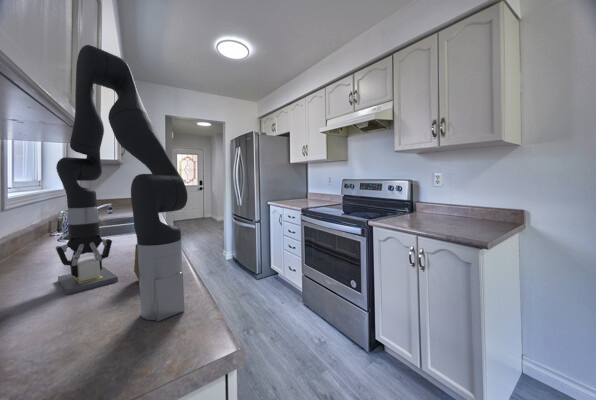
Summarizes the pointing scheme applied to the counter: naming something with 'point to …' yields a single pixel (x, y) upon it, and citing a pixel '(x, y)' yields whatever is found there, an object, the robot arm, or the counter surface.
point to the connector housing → (88, 268)
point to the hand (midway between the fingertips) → (87, 273)
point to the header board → (86, 281)
